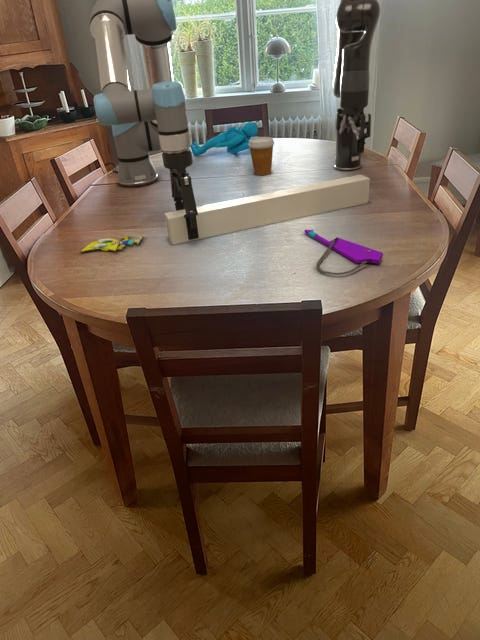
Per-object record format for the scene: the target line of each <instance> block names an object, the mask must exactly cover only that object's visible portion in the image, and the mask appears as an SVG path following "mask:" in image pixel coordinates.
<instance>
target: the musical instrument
mask: <svg viewBox="0 0 480 640" xmlns="http://www.w3.org/2000/svg"><path fill="white" fill-rule="evenodd" d="M304 234H306V235H308V236H309V237H310V238H311V239H314V240H316V241H318V242H319V243H321V244H323V245H324V246H326V247H327V249H326V250H325V251H324V253H323V254H322V255H321V257H320V258H319V259H318V260H317V262H316V265H315V266H316V270H317V271H318V272H319V273H320V274H327V275H333V276H341V275H346V274H347V275H348V274H350V273H353V272H355V271H357V270H358V269H360V268H362V267H363V266H364V265H365V264H367V263H371V264H380V263H381V260H382V259H383V256H384V252H382V251H379V250H376V249H373V248H371V247H367V246H365V245H361V244H359V243H355V242H353V241H350V240H347V239H343V238H341V237H338V236H337V237H335V238H334V239H331V240H330V241H329V240H328V239H326V238H324V237H322V236H321V235H319V234H318V233H317V232H314V229H304ZM330 250H333V251H335V252H336V253H338V254H339V255H342V256H343V257H345V258H347V259H348V260H349V261H352V262H353V263H355V264H359V265H357V266H355V267H354V268H352V269H350V270H348V271H347V270H346V271H342V272H333V271H332V272H331V271H325V270H322V269H321V267H320V264H321V263H322V261H323V260H324V258H325V257H326V256H327V254H328V253H329V251H330Z"/></svg>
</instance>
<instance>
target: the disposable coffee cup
mask: <svg viewBox="0 0 480 640" xmlns="http://www.w3.org/2000/svg"><path fill="white" fill-rule="evenodd" d="M248 145H249V147H250V149H249V151H250V155H251V163H252V168H253V173H254V175H257V176H267V175H270V174H271V173H272V165H273V154H274V152H273V151H274V145H275V141H274V138H273V137H270V136H258V137H257V138H252V139H250V140H249V144H248Z"/></svg>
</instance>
